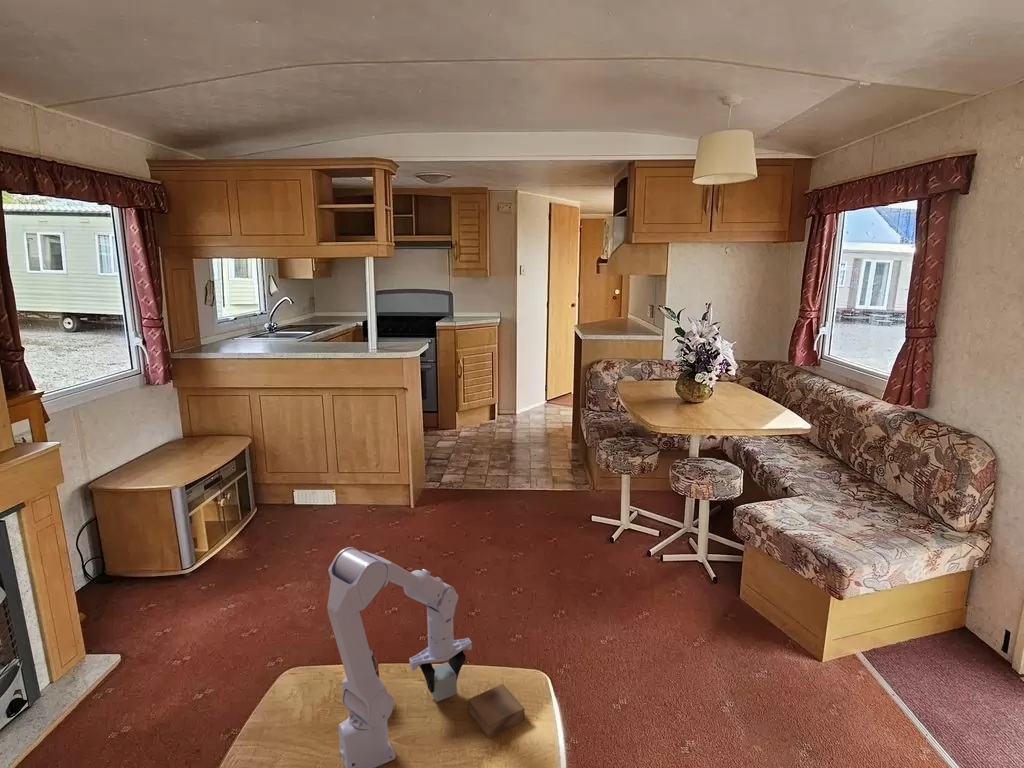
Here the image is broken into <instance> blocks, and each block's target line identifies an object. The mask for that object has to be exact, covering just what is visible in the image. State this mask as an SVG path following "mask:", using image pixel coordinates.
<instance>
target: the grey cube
mask: <svg viewBox="0 0 1024 768" xmlns="http://www.w3.org/2000/svg"><path fill="white" fill-rule="evenodd" d="M432 667H433V669H434V670H435V674H434V692H433V693H431V692H430V694H431V696H432V697H433V699H434V700H435V702H440V701H442V700H445V699H449V698H450V697H452V696H455V695H457V694H458V692H457V691H458V687H457V684H458V683H457V682H458V679H457V680H456V673H455V672H454V671H453V669H452V668H451V666H450V663H449V662H448V661H445V662H443V663H441V664H438V665H436V666H432Z"/></svg>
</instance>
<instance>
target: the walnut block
mask: <svg viewBox="0 0 1024 768" xmlns="http://www.w3.org/2000/svg"><path fill="white" fill-rule="evenodd" d="M467 703H468V704H467V705H468V713H469V714H470V716H471V717H472V718H473V719H474V721H475V722H476V723H477V724H478V726H479V727H480V728H481V730H482V732H484V734H485V735H486V737H487V738H488V739H490V738H492V737H494V736H497V735H499V734H500V733H502V732H504V731H507V730H508V729H511V728H512V727H514V726H517V725H518V724H520V723H522V722H524V721H525V707H524V706H523V704H521V702H519V700H518V699H517V698H516V697H515V695H513V693H512V692H511V691H510V689H508V688H507V687H506V686H505V684H504V683H502V684H499V685H496V686H495V687H492V688H490V689H488V690H485V691H483V692H481V693H479V694H475V695H474V696H473V697H470V698H468V701H467Z"/></svg>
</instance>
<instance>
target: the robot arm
mask: <svg viewBox="0 0 1024 768" xmlns="http://www.w3.org/2000/svg"><path fill="white" fill-rule="evenodd" d="M328 575H329V578H330V586H329V592H328V593H329V594H328V600H327V606H326V607H327V608H326V609H327V614H328V617H329V618H328V619H329V622H330V625H331V628H332V632H333V634H334V635H333V636H334V638H335V642H336V646H337V650H338V653H339V655H340V660H341V663H342V665H343V670H344V673H345V677H344V678H343V679H342V681H341V686H342V693H341V698H340V699H341V702H342V705H344V707H346V708H348V711H347V712H348V715H349V716H348V717H347V718H346V719H345V720H344V721H342V722H340V723H339V724H338V725H337V727H338V728H337V729H338V743H339V750H338V752H339V754H340V759H341V761H342V763H343V766H344V768H378V767H380V766H383V765H384V764H388V763H389V762H391V761H393V760H395V759H396V754H395V751H394V749H393V748H392V745H391V743H390V741H389V733H388V731H389V730H388V719H389V718H390V717H391V715H392V713H393V709H394V706H395V705H394V704H395V701H394V697H393V696H392V695H391V694H390V693H389V692H388V691H387V687H386V686H385V684H384V683H383V682H382V680H381V679H380V676H379V677H378V676H377V675H376V672H375V668H374V665H373V661H372V657H371V653H370V650H371V649H370V646H369V642H368V639H367V636H366V631H365V627H364V623H363V620H362V616H361V613H360V611H363V610H365V608H366V607H367V606H369V604H370V603H371V601H372V600H373V599H374V597H375V596H376V595H377V594H378V592H380V590H381V589H382V587H383V588H385V587H387V585H388V584H389V582H390V583H393V584H395V585H398V586H400V587H403V593H404V594H405V595H406V596H407V597H409V598H410V599H413V600H414V601H416V602H420V603H421V604H424V605H426V614H427V615H426V617H427V618H426V619H427V622H426V623H427V645H428V646H427V647H426V648H424V649H423V650H422V651H420V652H419V653H417V654H416V655H413V656H412V657H409V664H408V665H409V667H410V669H411V670H412V671H416V670H417V669H418V667H419V669H420V670H421V672H422V674H423V676H424V678H425V679H424V680H425V681H426V686H427V689H428V691H429V692H430V694H431V693H433V692H434V674H435V670H434V669H433V667H434V666H433V663H439V662H441V663H442V662H447V661H449V662H448V664H449V665H450V666H451V668H452V669H453V671H454V672H455V673H456V680H457V681H458V677H459V674H460V672H461V669H462V666H463V665H464V663H465V662H466V660H467V658H466V654H465V652H464V651H466V650H467V651H471V650H472V649H473V645H472V644H473V643H472V641H471V639H470V638H469V637H466V638H460V639H454V638H455V637H454V615H455V613H456V607H457V603H458V600H459V594H458V593H457V592H456V589H455V587H454V586H452V585H450V584H448V583H446V582H444V581H443V578H440V577H438V576H436V577H435V576H432V575H431V571H428V570H427V569H424V568H422V569H421V570H419V569H416V570H413V571H411V572H410V571H409V570H406V569H405V568H403V567H401V566H399V565H398V564H397V563H394V562H392V561H390V560H388V559H386V558H384V557H382V556H379V555H377V554H373V553H371V552H368V551H365V550H358V549H357V548H355V547H353V546H348V547H345V548H343V549H341V550H340V551H339V552H338V553H337V554H336V555H335V557H334V558H333V560H332V562H331V564H330V566H329V568H328ZM369 649H370V650H369Z"/></svg>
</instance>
